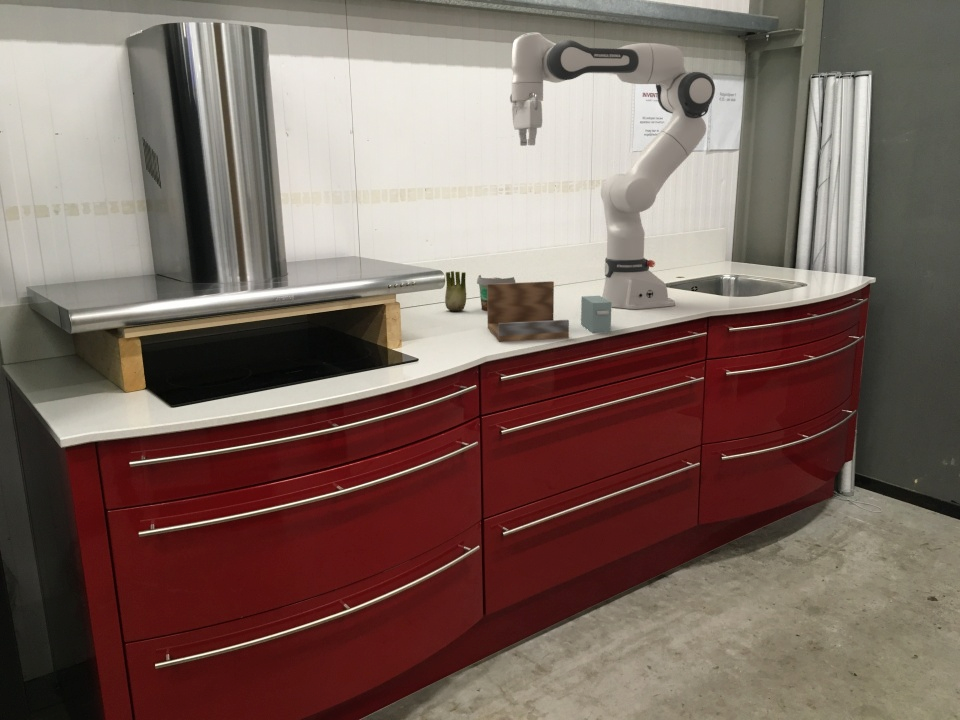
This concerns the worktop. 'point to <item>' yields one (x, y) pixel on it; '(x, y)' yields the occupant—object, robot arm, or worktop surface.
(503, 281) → the food container
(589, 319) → the mini cabinet
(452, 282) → the fennel bulb
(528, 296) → the wooden l-shaped stand
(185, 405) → the worktop surface
